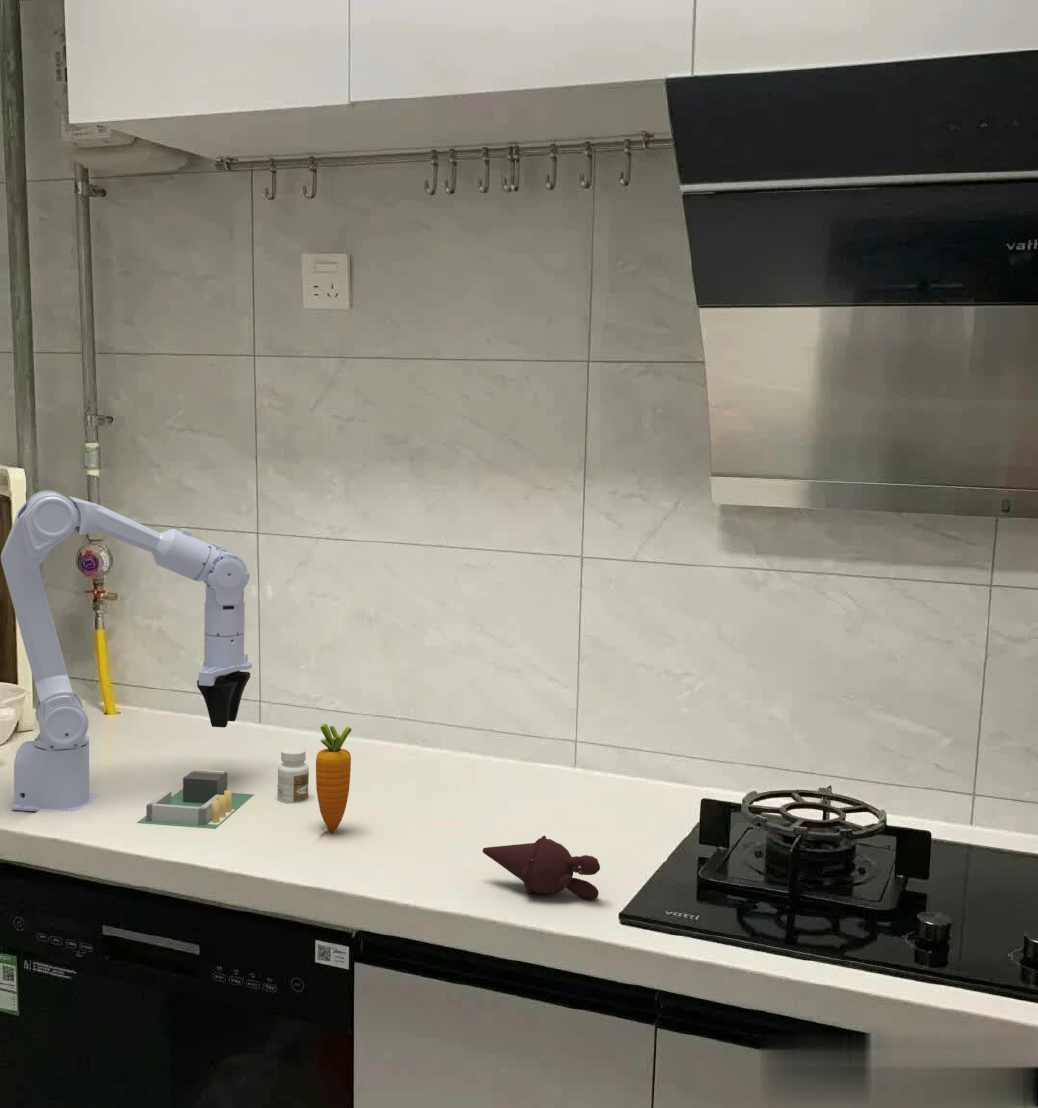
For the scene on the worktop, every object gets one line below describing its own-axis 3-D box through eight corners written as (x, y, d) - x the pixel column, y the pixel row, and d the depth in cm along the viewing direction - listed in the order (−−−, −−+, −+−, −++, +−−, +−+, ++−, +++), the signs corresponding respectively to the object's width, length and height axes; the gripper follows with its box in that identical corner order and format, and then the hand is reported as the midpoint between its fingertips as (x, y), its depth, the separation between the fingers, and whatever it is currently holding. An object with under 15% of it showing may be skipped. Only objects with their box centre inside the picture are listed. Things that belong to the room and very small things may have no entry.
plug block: (183, 802, 165) (183, 775, 165) (194, 793, 169) (194, 768, 169) (216, 804, 165) (217, 778, 164) (227, 795, 169) (227, 770, 168)
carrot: (356, 828, 158) (358, 720, 157) (341, 840, 154) (343, 729, 152) (323, 824, 160) (325, 717, 158) (307, 836, 155) (308, 725, 153)
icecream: (469, 841, 137) (589, 874, 131) (495, 809, 143) (611, 839, 138) (469, 890, 139) (587, 924, 134) (495, 856, 146) (608, 887, 140)
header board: (136, 826, 156) (136, 800, 156) (181, 793, 171) (181, 769, 171) (215, 832, 155) (215, 806, 155) (254, 798, 170) (254, 774, 169)
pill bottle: (301, 808, 166) (302, 755, 165) (272, 805, 167) (273, 753, 166) (312, 799, 170) (313, 747, 170) (284, 796, 171) (285, 745, 170)
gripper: (232, 643, 164) (232, 737, 165) (267, 626, 178) (266, 713, 180) (184, 640, 165) (184, 734, 166) (222, 624, 179) (222, 710, 180)
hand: (223, 723), depth 173 cm, fingers open, 3 cm apart
